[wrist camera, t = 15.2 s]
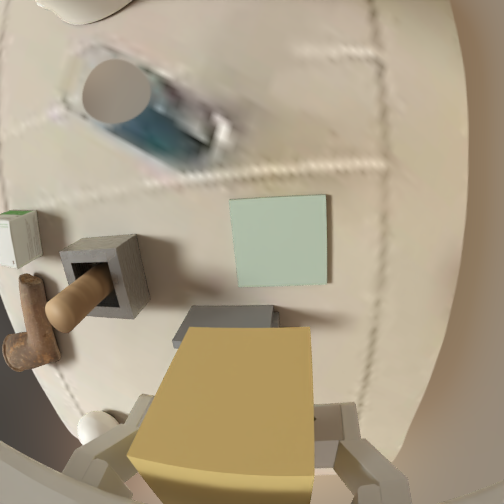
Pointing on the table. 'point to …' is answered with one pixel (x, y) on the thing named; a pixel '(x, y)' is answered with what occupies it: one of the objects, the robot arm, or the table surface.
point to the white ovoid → (94, 425)
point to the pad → (280, 240)
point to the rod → (79, 298)
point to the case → (227, 318)
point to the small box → (19, 238)
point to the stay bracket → (121, 268)
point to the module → (232, 420)
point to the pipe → (31, 330)
